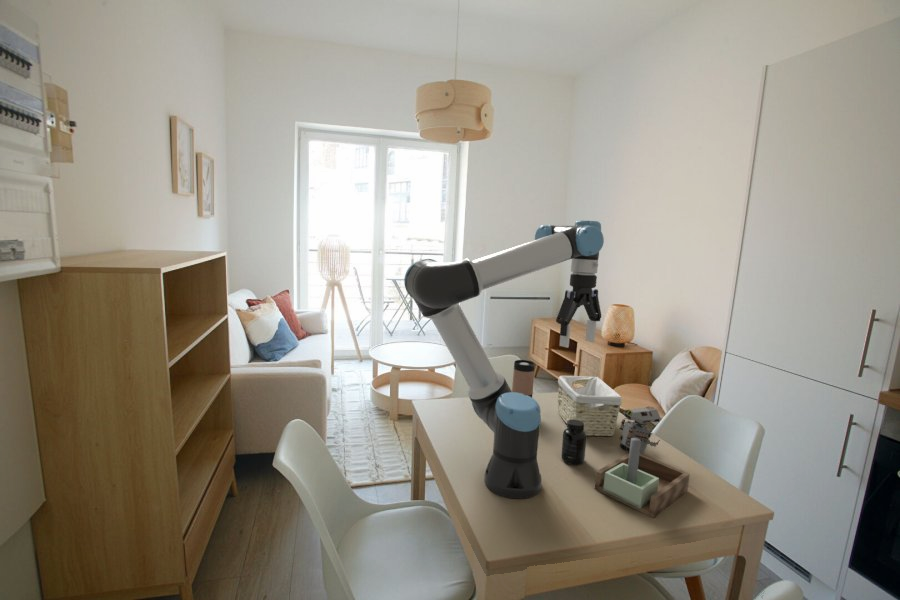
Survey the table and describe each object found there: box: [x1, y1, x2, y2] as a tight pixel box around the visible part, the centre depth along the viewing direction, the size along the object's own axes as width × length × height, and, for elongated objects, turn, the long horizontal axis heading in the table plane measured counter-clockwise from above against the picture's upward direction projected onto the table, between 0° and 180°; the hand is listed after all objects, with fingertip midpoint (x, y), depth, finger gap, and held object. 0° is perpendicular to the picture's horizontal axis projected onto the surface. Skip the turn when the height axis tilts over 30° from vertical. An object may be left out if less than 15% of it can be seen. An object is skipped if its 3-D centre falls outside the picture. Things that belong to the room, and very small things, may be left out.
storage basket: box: [557, 375, 623, 437], centre depth 166 cm, size 24×16×15 cm
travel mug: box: [511, 359, 536, 398], centre depth 172 cm, size 8×8×20 cm
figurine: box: [619, 406, 661, 455], centre depth 144 cm, size 9×12×15 cm
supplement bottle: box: [561, 419, 587, 466], centre depth 138 cm, size 7×7×12 cm
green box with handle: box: [603, 438, 659, 508], centre depth 118 cm, size 9×10×15 cm
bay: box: [594, 453, 691, 519], centre depth 123 cm, size 20×16×5 cm
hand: (577, 344), depth 139 cm, fingers open, 13 cm apart
